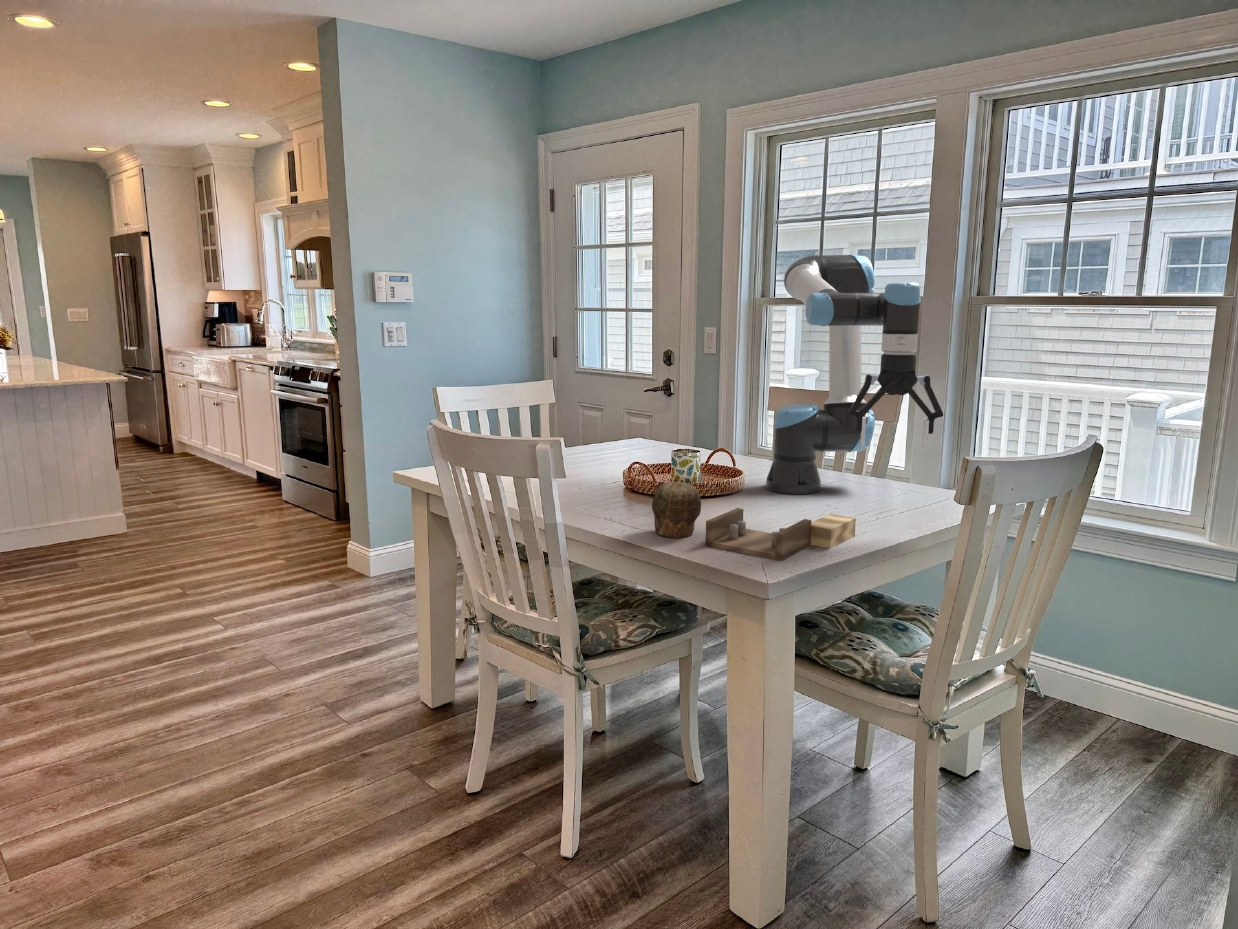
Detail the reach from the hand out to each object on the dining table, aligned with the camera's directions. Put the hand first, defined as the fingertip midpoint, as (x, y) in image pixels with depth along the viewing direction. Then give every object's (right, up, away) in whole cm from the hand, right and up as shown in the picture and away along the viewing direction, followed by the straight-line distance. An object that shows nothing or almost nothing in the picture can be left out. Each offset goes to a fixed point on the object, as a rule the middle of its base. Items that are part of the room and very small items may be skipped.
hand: (893, 447), depth 190 cm
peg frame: (-33, -21, -10) cm, 40 cm away
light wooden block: (-16, -21, -6) cm, 27 cm away
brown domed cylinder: (-50, -20, -1) cm, 53 cm away
